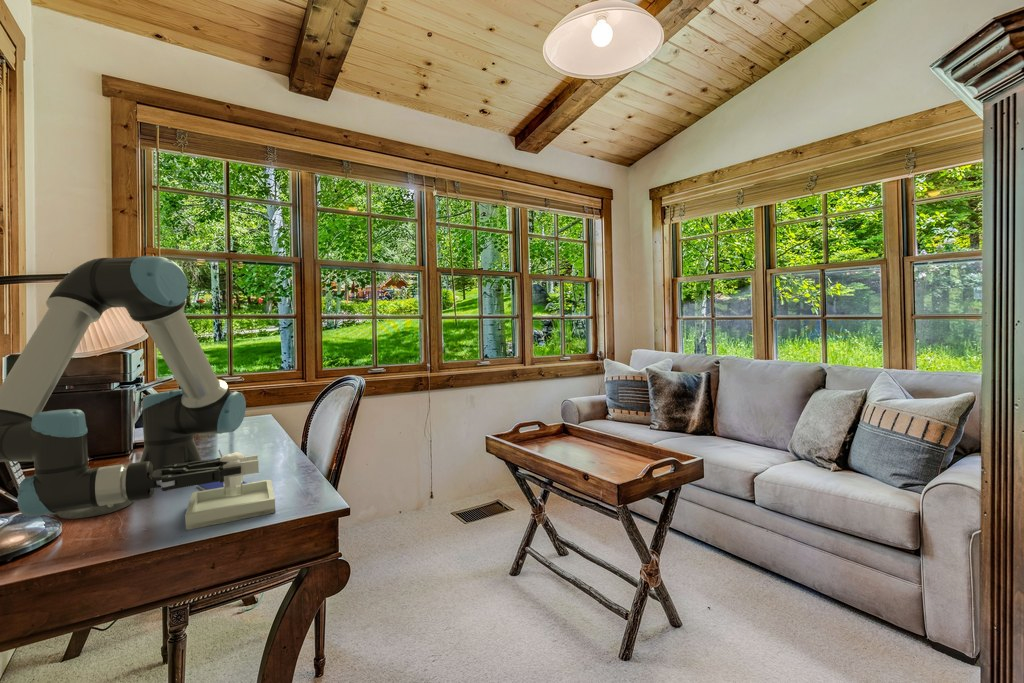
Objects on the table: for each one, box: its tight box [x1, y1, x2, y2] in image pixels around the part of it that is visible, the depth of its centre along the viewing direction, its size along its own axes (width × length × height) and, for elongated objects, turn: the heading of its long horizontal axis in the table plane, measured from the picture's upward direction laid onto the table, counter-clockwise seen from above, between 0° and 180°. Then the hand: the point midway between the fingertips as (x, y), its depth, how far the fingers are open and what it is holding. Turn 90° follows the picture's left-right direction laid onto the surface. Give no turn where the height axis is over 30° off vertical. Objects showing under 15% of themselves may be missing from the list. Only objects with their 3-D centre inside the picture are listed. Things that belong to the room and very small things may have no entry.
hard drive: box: [196, 480, 247, 491], centre depth 122 cm, size 2×8×12 cm
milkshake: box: [217, 449, 245, 497], centre depth 106 cm, size 4×5×10 cm
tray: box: [184, 479, 276, 531], centre depth 106 cm, size 16×16×3 cm
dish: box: [56, 498, 134, 520], centre depth 109 cm, size 14×14×5 cm
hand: (257, 463), depth 108 cm, fingers closed on milkshake, 4 cm apart
